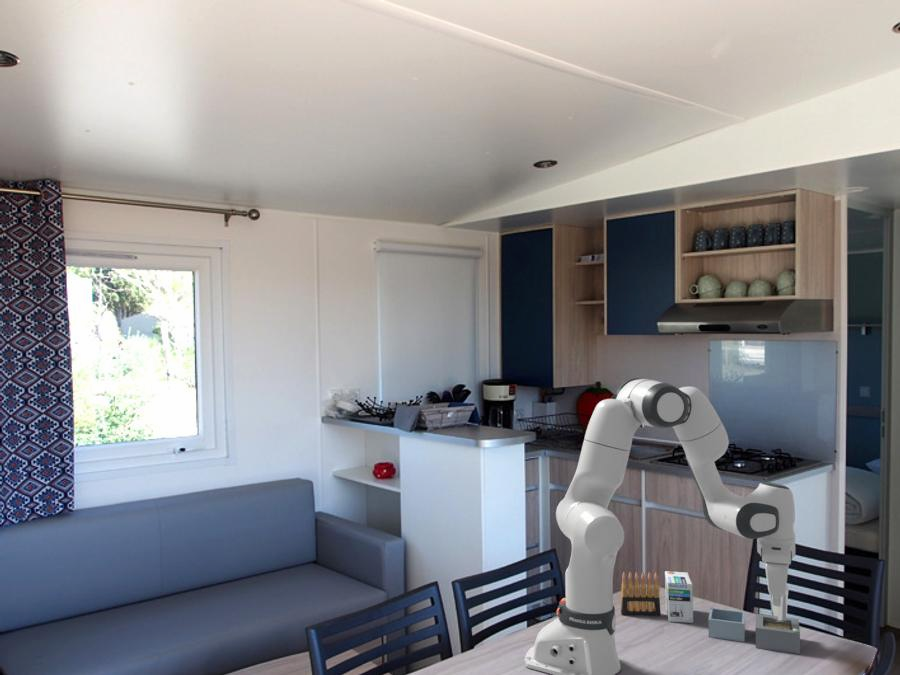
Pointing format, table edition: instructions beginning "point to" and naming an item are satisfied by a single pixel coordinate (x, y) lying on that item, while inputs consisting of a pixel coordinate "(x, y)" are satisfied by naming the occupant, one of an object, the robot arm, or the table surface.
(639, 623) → the table surface
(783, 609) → the milkshake
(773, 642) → the square frame
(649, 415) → the robot arm
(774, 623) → the plain tan rectangular plate
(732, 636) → the bin
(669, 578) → the light bulb box
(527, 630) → the table surface
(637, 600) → the ammunition clip
